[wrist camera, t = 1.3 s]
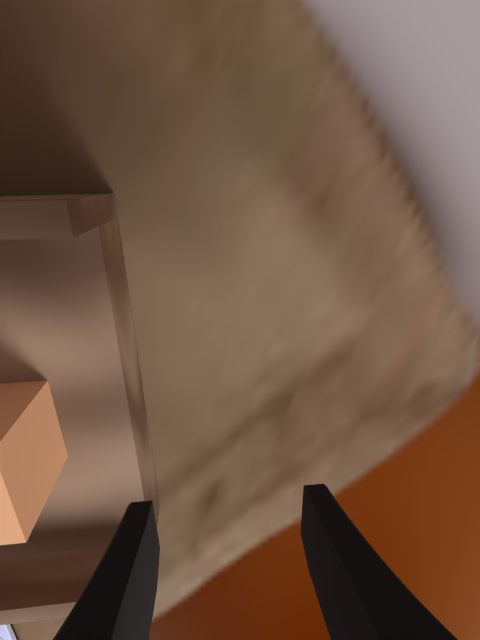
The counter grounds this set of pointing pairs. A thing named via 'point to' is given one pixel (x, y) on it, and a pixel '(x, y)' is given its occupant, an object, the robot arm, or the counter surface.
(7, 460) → the terracotta block
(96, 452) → the open tray box
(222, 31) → the counter surface
